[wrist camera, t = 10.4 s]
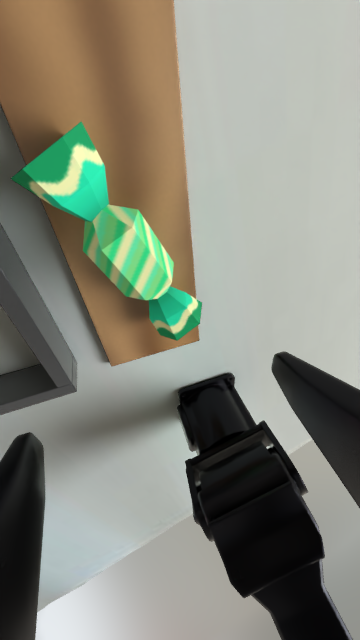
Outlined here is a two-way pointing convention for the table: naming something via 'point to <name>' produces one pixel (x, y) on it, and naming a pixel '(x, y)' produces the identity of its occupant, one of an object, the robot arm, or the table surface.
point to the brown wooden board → (106, 135)
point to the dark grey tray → (32, 339)
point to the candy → (111, 230)
